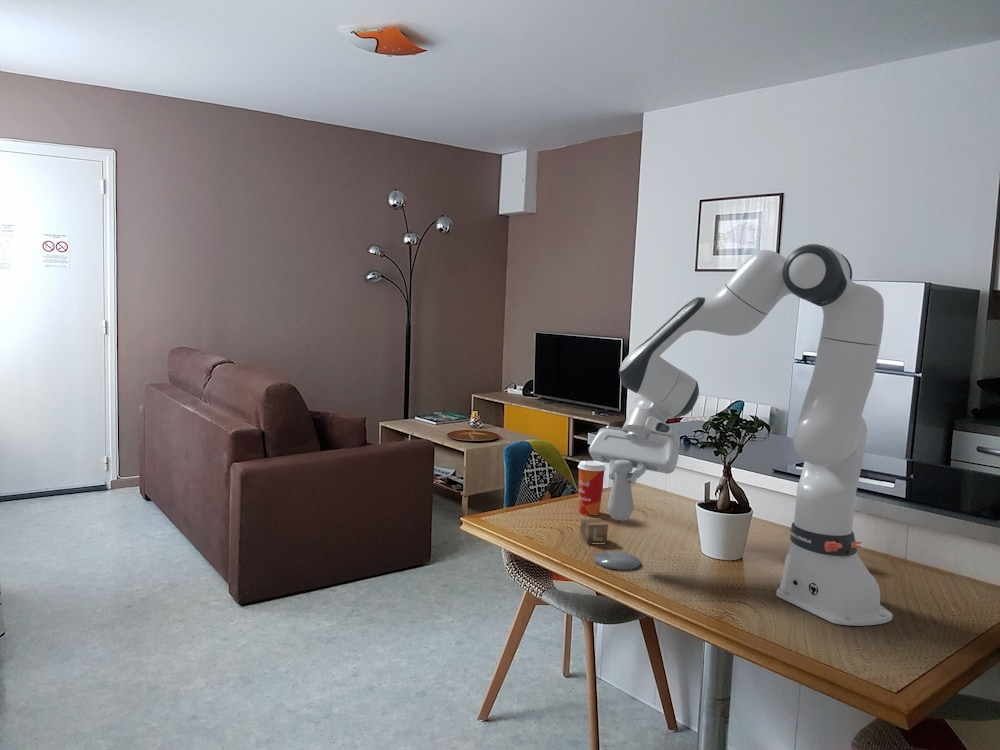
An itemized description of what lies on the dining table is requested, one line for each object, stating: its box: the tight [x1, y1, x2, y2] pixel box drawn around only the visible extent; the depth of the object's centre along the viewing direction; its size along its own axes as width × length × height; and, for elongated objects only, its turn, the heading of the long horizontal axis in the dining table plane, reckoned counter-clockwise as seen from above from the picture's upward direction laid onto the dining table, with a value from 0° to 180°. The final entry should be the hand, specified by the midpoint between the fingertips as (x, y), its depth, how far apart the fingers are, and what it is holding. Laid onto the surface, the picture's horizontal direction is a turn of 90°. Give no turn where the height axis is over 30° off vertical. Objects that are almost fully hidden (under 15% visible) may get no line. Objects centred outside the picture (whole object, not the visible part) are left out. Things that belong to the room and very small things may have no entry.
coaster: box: [594, 551, 641, 571], centre depth 172 cm, size 10×10×1 cm
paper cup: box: [577, 460, 607, 516], centre depth 210 cm, size 8×8×14 cm
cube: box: [579, 517, 609, 545], centre depth 186 cm, size 5×5×5 cm
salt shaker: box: [607, 460, 635, 521], centre depth 170 cm, size 6×6×13 cm
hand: (621, 480), depth 169 cm, fingers closed on salt shaker, 3 cm apart
